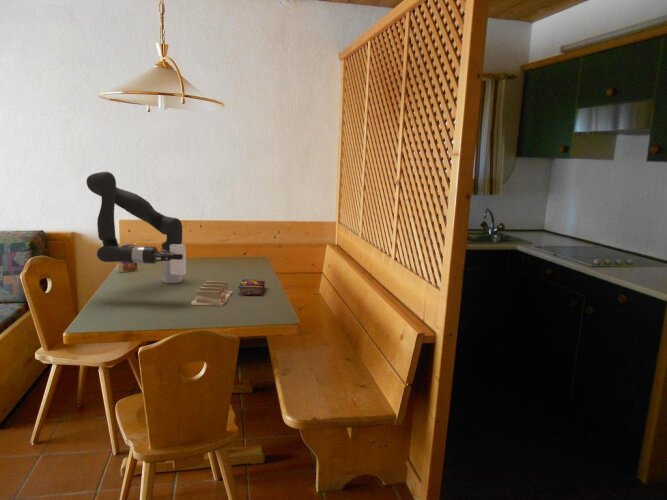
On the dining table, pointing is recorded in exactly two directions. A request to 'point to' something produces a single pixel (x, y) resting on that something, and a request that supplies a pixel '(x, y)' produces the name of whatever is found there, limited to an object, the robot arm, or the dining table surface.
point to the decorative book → (251, 287)
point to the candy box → (127, 265)
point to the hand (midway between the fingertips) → (183, 256)
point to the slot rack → (212, 294)
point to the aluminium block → (178, 265)
